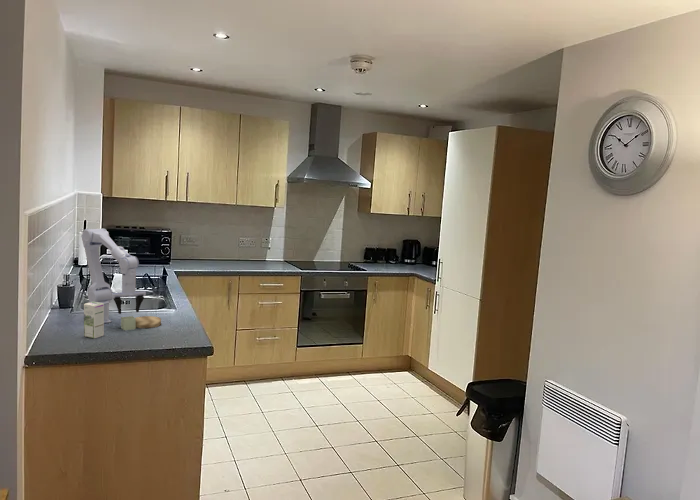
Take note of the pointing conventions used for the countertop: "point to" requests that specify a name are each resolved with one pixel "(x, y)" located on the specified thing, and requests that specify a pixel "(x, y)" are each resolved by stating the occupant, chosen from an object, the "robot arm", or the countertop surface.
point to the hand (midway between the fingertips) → (128, 312)
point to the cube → (128, 323)
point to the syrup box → (93, 319)
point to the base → (147, 322)
